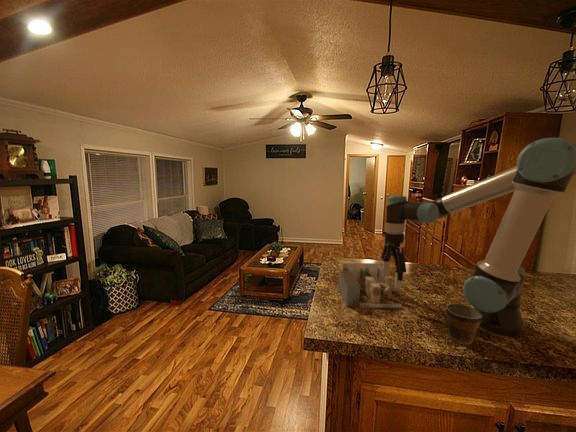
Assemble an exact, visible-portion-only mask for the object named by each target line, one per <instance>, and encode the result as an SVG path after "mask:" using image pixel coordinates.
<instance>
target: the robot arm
mask: <svg viewBox="0 0 576 432" xmlns="http://www.w3.org/2000/svg"><path fill="white" fill-rule="evenodd" d="M575 175H576V144H575V143H573V142H572V141H571V140H569V139H566V138H561V137H546V138H540V139H536V140H534V141H533V142H531V143H529V144H527V145H526V146H525V147H524V148H523V149H522V150H521V151H520V152H519V154H518V156H517V159H516V165H515V166H514V167H510V168H508V169H507V170H503V171H501V172H499V173H497V174H494V175H491V176H489V177H487V178H484V179H482V180H480V181H478V182H475V183H473V184H470V185H468V186H465V187H463V188H460V189H458V190H455V191H454V192H451V193H448V194H446V195H444V196H441V197H438V198H436V199H434V200H429V201H408V199H407V196H406V195H389V196H388V197H387V199H386V206H385V208H386V210H385V211H386V213H385V222H384V231H385V233H384V246H383V249H382V253H381V259H382V263H383V276H385V277H388V276H390V265H391V264H390V263H391V262H390V261H391V257H392V258H393V259H394V264H395V265H394V266H395V269H396V270H395V274H394V275H395V276H394V277H395V278H394V279H395V281H394V282H395V286H394V287H395V288H402V289H403V279H404V273H407V265H406V259H405V248H404V247H401V244H403V243H404V241H405V234H404V233H405V228H406V221H413V222H420V223H422V224H427V223H428V224H434V223H435V222H436V221H437V220H439V219H442V218H445V217H447V216H449V215H452V214H455V213H457V212H460V211H462V210H466V209H469V208H471V207H474V206H478V205H480V204H482V203H485V202H488V201H491V200H494V199H496V198H497V199H498V198H500V197H502V196H505V195H508V194H511V193H513V195H512V197H511V198H510V201H509V203H508V206H507V208H506V211H505V212H504V215H503V217H502V220H501V221H500V224H499V226H498V229H497V231H496V233H495V236H494V238H493V239H492V243H491V245H490V246H489V249H488V251H487V254H486V255H485V258H484V259H483V260H479V261H477V262H476V264H475V267H474V269H473V271H472V273H471V276H470V277H468V278H467V279H466V280H465V282H464V283H463V286H462V294H463V296H464V298H465V299H466V301H467V302H468V304H469V305H470V306H471V307H472V308H474V309H476V310H478V311H479V312H480V313H481V314H482V319H481V322H480V325H479V327H481V328H482V329H484V330H487V331H489V332H492V333H496V334H499V335H504V336H511V337H512V336H513V337H514V336H519V335H521V334H523V332H524V323H523V320H522V314H521V310H520V307H521V301H522V296H523V290H524V283H525V279H526V268H524V267H523V266H521V264H522V262H523V260H524V259H525V257H526V254H527V253H528V251H529V249H530V246H531V244H532V243H533V240H534V238H535V236H536V234H537V233H538V230H539V228H540V226H541V224H542V222H543V219H544V218H545V216H546V214H547V212H548V210H549V208H550V206H551V203H553V202H552V201H553V200H554V198H555V197H557V196H560V195H563V194H565V192H566V190H567V188H568V185H569V184H570V183H571V180H572V178H573V177H574V176H575Z"/></svg>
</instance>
